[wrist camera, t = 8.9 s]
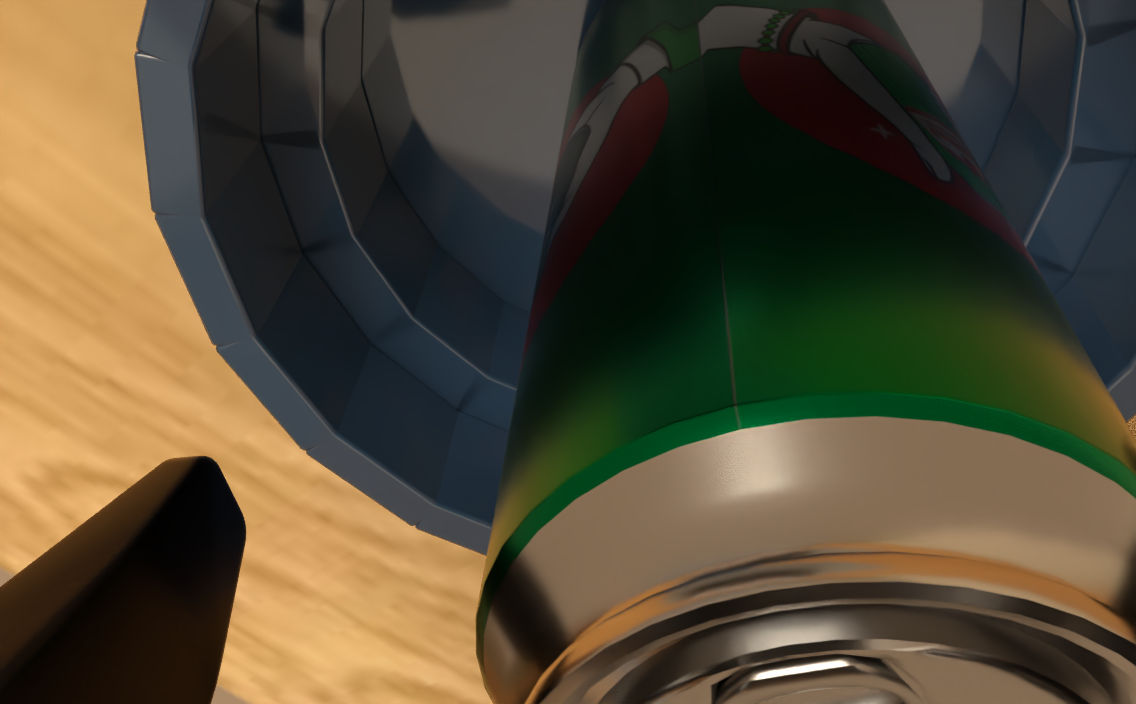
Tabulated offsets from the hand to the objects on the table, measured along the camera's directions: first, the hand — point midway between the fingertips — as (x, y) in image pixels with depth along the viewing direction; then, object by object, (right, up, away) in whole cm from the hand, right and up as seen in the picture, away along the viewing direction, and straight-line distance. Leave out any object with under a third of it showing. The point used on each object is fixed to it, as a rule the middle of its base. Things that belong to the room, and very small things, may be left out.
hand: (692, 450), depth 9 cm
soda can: (+1, +5, +7) cm, 9 cm away
